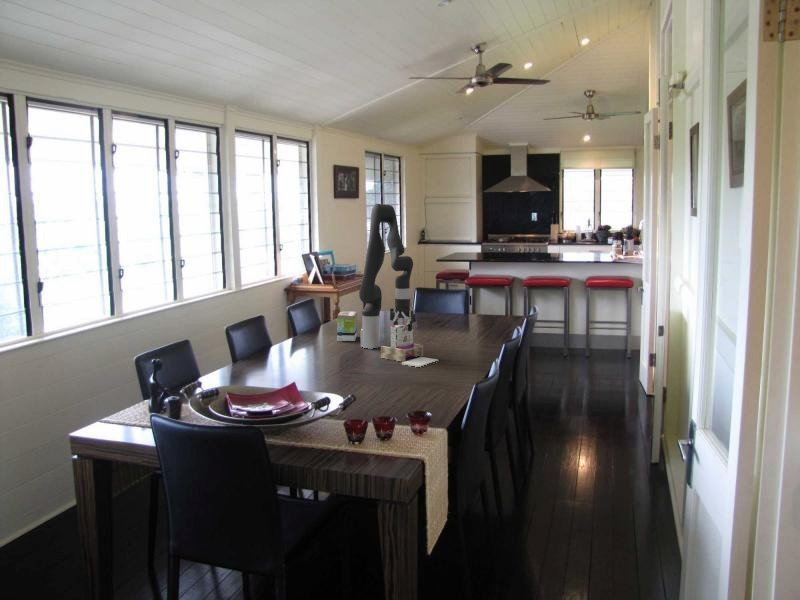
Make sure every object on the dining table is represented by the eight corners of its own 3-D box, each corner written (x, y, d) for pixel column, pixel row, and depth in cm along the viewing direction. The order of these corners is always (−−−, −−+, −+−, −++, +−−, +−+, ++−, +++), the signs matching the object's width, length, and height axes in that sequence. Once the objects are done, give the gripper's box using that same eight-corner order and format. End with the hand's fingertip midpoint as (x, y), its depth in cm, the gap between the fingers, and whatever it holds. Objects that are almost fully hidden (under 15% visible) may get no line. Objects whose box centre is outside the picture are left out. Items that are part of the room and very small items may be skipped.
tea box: (355, 342, 373) (354, 315, 371) (336, 341, 373) (336, 315, 371) (357, 336, 388) (357, 310, 385) (339, 336, 388) (339, 310, 386)
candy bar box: (407, 355, 341) (407, 322, 338) (413, 357, 337) (414, 324, 334) (389, 358, 334) (390, 325, 331) (396, 360, 330) (396, 326, 327)
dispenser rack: (380, 358, 334) (380, 346, 333) (400, 352, 346) (400, 341, 345) (403, 362, 325) (404, 350, 324) (423, 356, 337) (423, 345, 336)
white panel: (401, 364, 320) (401, 362, 320) (421, 358, 333) (421, 356, 333) (418, 367, 314) (418, 365, 314) (438, 361, 327) (438, 359, 327)
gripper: (386, 297, 332) (386, 330, 335) (409, 299, 324) (410, 332, 326) (395, 295, 338) (396, 327, 341) (419, 297, 330) (419, 330, 332)
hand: (402, 330), depth 333 cm, fingers open, 8 cm apart
